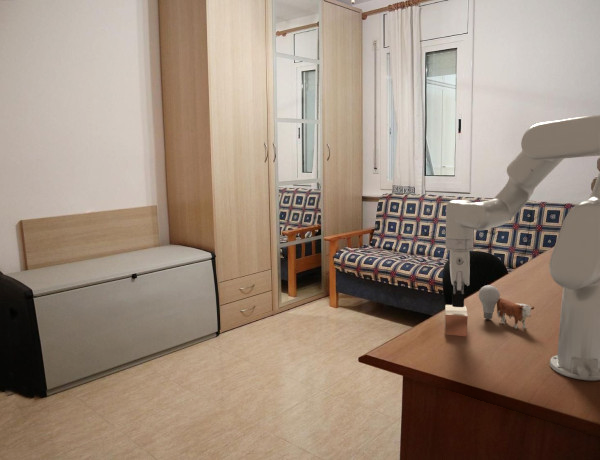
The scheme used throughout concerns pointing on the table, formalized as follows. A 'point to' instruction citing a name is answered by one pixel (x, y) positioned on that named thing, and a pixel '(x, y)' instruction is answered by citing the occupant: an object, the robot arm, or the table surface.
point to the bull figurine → (513, 311)
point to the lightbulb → (489, 300)
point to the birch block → (456, 320)
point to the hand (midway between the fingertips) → (458, 306)
